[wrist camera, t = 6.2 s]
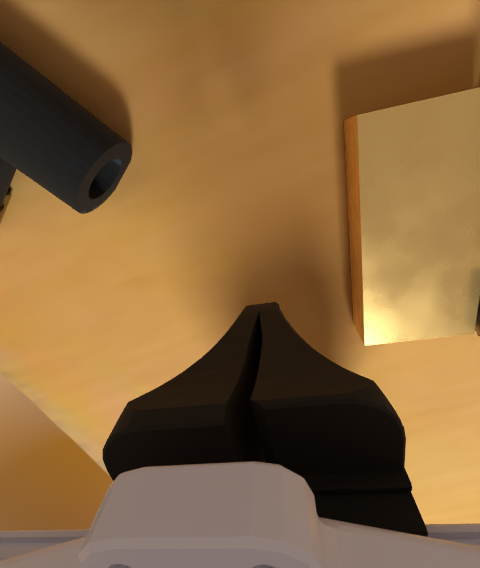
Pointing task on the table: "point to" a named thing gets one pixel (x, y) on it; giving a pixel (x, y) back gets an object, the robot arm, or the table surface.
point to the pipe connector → (54, 140)
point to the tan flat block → (415, 218)
